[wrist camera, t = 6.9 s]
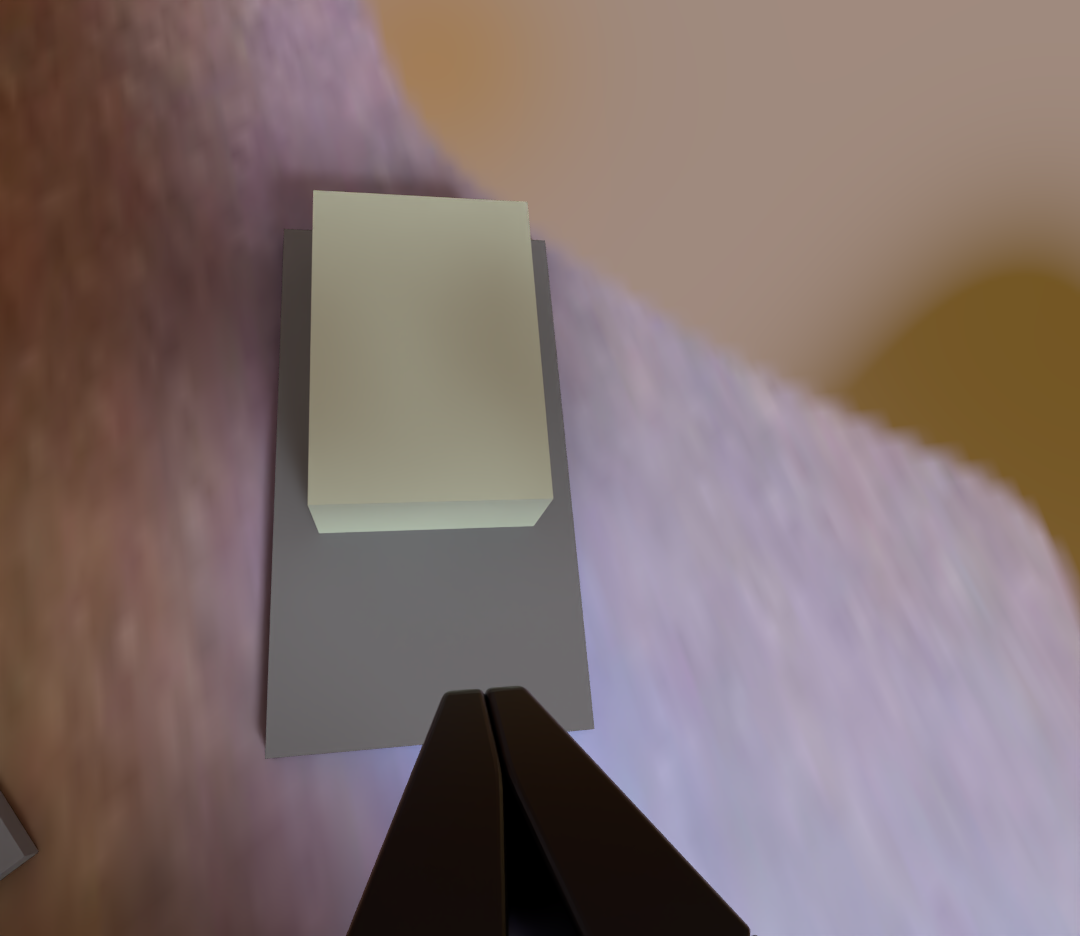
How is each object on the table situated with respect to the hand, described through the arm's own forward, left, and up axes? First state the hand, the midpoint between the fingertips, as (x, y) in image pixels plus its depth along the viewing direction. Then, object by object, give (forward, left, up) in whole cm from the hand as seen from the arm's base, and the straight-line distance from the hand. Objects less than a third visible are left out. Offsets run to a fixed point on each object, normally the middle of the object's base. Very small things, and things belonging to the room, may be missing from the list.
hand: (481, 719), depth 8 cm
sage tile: (-2, -4, -8) cm, 9 cm away
